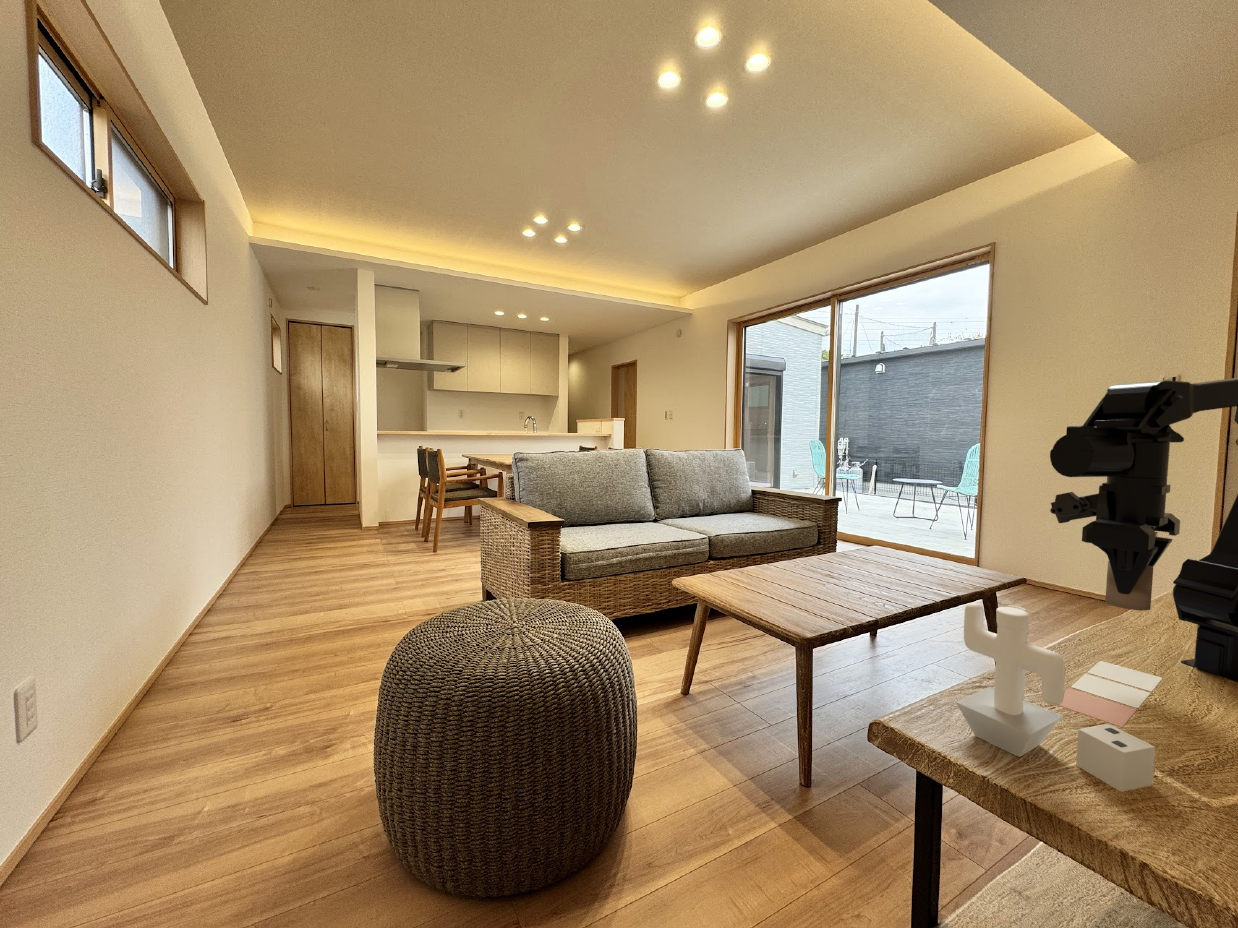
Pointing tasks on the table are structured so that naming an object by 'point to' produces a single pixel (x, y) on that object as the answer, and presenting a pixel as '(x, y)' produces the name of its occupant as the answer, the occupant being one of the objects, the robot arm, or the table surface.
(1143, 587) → the pawn
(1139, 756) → the cream box with slots
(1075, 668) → the table surface
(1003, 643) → the figurine
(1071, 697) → the game board
